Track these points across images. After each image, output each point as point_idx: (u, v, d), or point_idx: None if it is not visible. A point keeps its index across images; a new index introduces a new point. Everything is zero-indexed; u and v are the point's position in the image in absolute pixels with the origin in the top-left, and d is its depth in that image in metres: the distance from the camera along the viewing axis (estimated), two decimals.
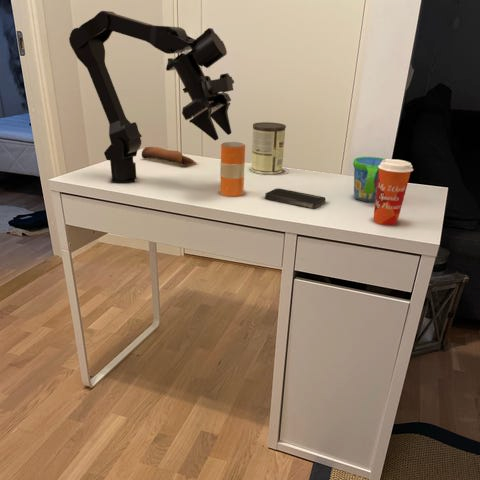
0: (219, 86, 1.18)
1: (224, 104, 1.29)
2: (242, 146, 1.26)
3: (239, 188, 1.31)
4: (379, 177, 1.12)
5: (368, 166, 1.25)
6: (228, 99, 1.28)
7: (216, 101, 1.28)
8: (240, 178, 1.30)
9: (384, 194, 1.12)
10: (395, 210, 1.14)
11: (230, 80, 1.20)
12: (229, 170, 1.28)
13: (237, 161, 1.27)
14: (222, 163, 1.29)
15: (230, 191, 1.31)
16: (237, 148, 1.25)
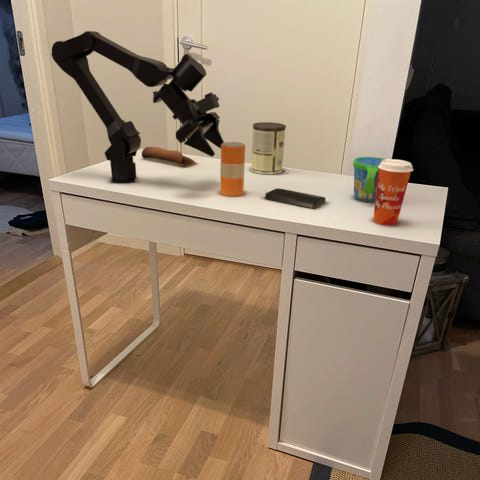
0: (205, 105, 1.23)
1: (214, 122, 1.34)
2: (242, 146, 1.26)
3: (239, 188, 1.31)
4: (379, 177, 1.12)
5: (368, 166, 1.25)
6: (217, 117, 1.33)
7: (206, 121, 1.33)
8: (240, 178, 1.30)
9: (384, 194, 1.12)
10: (395, 210, 1.14)
11: (215, 97, 1.24)
12: (229, 170, 1.28)
13: (237, 161, 1.27)
14: (222, 163, 1.29)
15: (230, 191, 1.31)
16: (237, 148, 1.25)
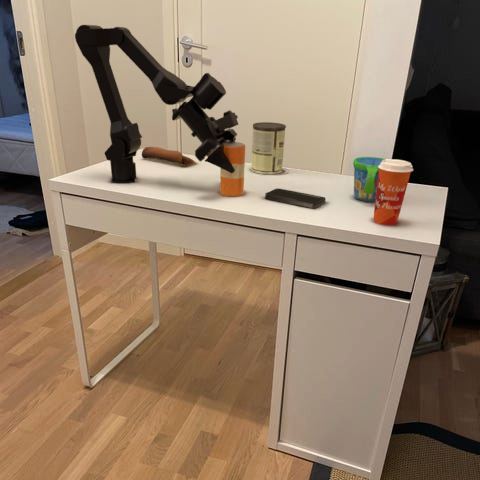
0: (225, 123, 1.24)
1: (231, 139, 1.34)
2: (242, 146, 1.26)
3: (239, 188, 1.31)
4: (379, 177, 1.12)
5: (368, 166, 1.25)
6: (234, 134, 1.34)
7: (223, 138, 1.33)
8: (240, 178, 1.30)
9: (384, 194, 1.12)
10: (395, 210, 1.14)
11: (234, 116, 1.25)
12: None
13: (237, 161, 1.27)
14: None
15: (230, 191, 1.31)
16: (237, 148, 1.25)
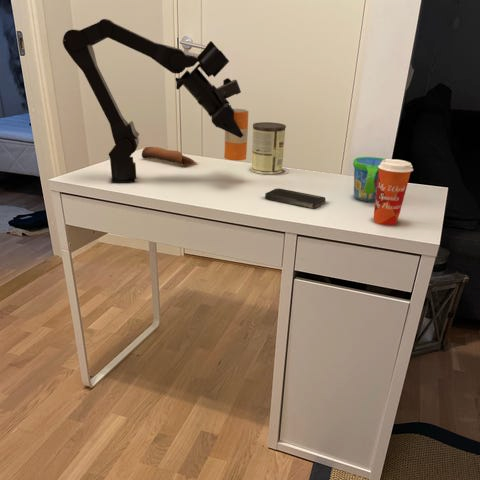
0: (232, 90, 1.30)
1: None
2: (247, 111, 1.35)
3: (245, 152, 1.39)
4: (379, 177, 1.12)
5: (368, 166, 1.25)
6: None
7: None
8: (246, 142, 1.38)
9: (384, 194, 1.12)
10: (395, 210, 1.14)
11: None
12: None
13: (244, 125, 1.35)
14: None
15: (238, 156, 1.38)
16: (244, 113, 1.33)
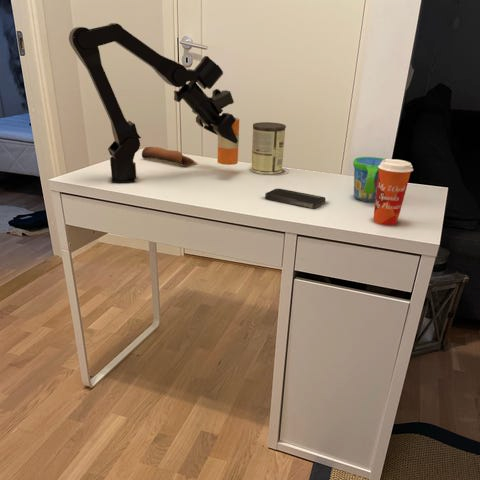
0: (227, 100, 1.41)
1: None
2: (238, 119, 1.47)
3: (237, 156, 1.52)
4: (379, 177, 1.12)
5: (368, 166, 1.25)
6: None
7: None
8: None
9: (384, 194, 1.12)
10: (395, 210, 1.14)
11: None
12: None
13: (237, 132, 1.47)
14: None
15: (233, 160, 1.50)
16: (238, 121, 1.46)
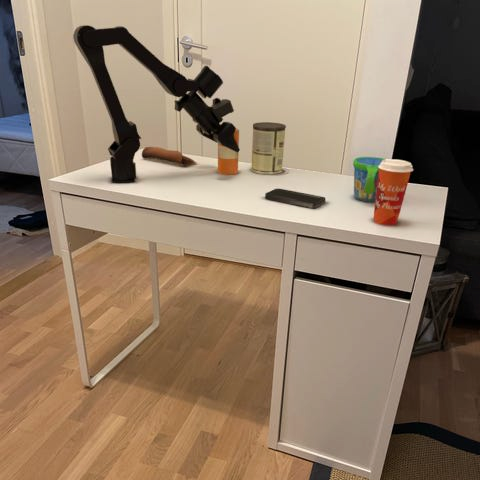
0: (227, 109, 1.43)
1: None
2: None
3: (237, 166, 1.53)
4: (379, 177, 1.12)
5: (368, 166, 1.25)
6: None
7: None
8: None
9: (384, 194, 1.12)
10: (395, 210, 1.14)
11: None
12: (233, 151, 1.49)
13: (237, 142, 1.49)
14: (225, 147, 1.48)
15: (233, 170, 1.52)
16: (237, 131, 1.47)
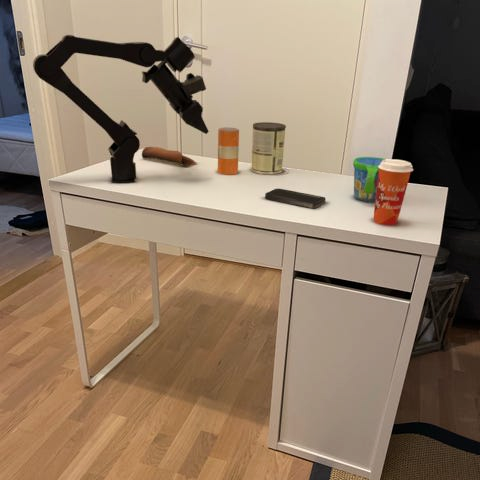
0: (199, 86, 1.35)
1: None
2: None
3: (237, 166, 1.53)
4: (379, 177, 1.12)
5: (368, 166, 1.25)
6: None
7: None
8: None
9: (384, 194, 1.12)
10: (395, 210, 1.14)
11: None
12: (233, 151, 1.49)
13: (237, 142, 1.49)
14: (225, 147, 1.48)
15: (233, 170, 1.52)
16: (237, 131, 1.47)
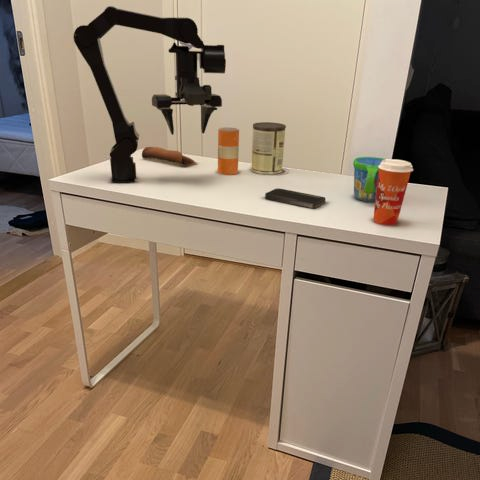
0: (186, 97, 1.28)
1: (212, 106, 1.36)
2: None
3: (237, 166, 1.53)
4: (379, 177, 1.12)
5: (368, 166, 1.25)
6: (215, 105, 1.35)
7: (206, 100, 1.36)
8: None
9: (384, 194, 1.12)
10: (395, 210, 1.14)
11: (200, 97, 1.27)
12: (233, 151, 1.49)
13: (237, 142, 1.49)
14: (225, 147, 1.48)
15: (233, 170, 1.52)
16: (237, 131, 1.47)
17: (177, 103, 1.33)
